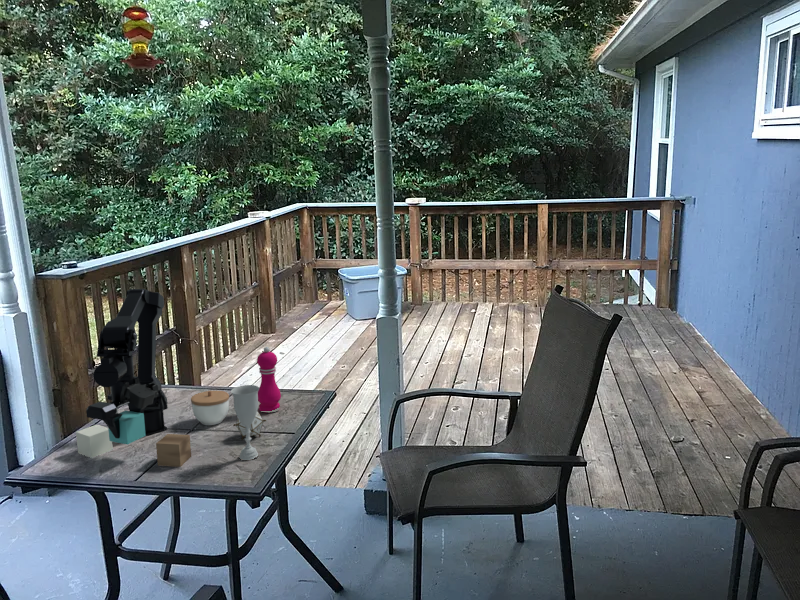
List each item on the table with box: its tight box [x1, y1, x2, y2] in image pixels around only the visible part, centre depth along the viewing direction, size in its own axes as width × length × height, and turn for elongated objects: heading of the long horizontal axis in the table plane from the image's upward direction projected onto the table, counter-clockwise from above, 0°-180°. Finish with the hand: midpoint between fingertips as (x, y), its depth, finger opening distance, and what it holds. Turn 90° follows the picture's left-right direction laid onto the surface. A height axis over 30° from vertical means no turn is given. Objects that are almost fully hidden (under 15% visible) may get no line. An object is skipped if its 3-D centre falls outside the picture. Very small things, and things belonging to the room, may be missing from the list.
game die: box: [232, 410, 267, 440], centre depth 181 cm, size 9×8×10 cm
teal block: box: [107, 410, 147, 445], centre depth 167 cm, size 6×6×6 cm
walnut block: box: [155, 433, 192, 468], centre depth 166 cm, size 6×6×6 cm
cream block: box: [75, 424, 114, 459], centre depth 172 cm, size 6×6×6 cm
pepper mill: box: [256, 346, 282, 412], centre depth 200 cm, size 7×7×20 cm
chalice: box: [230, 384, 260, 460], centre depth 167 cm, size 7×7×18 cm
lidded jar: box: [190, 389, 230, 426], centre depth 192 cm, size 11×11×9 cm
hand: (127, 433), depth 167 cm, fingers closed on teal block, 6 cm apart
